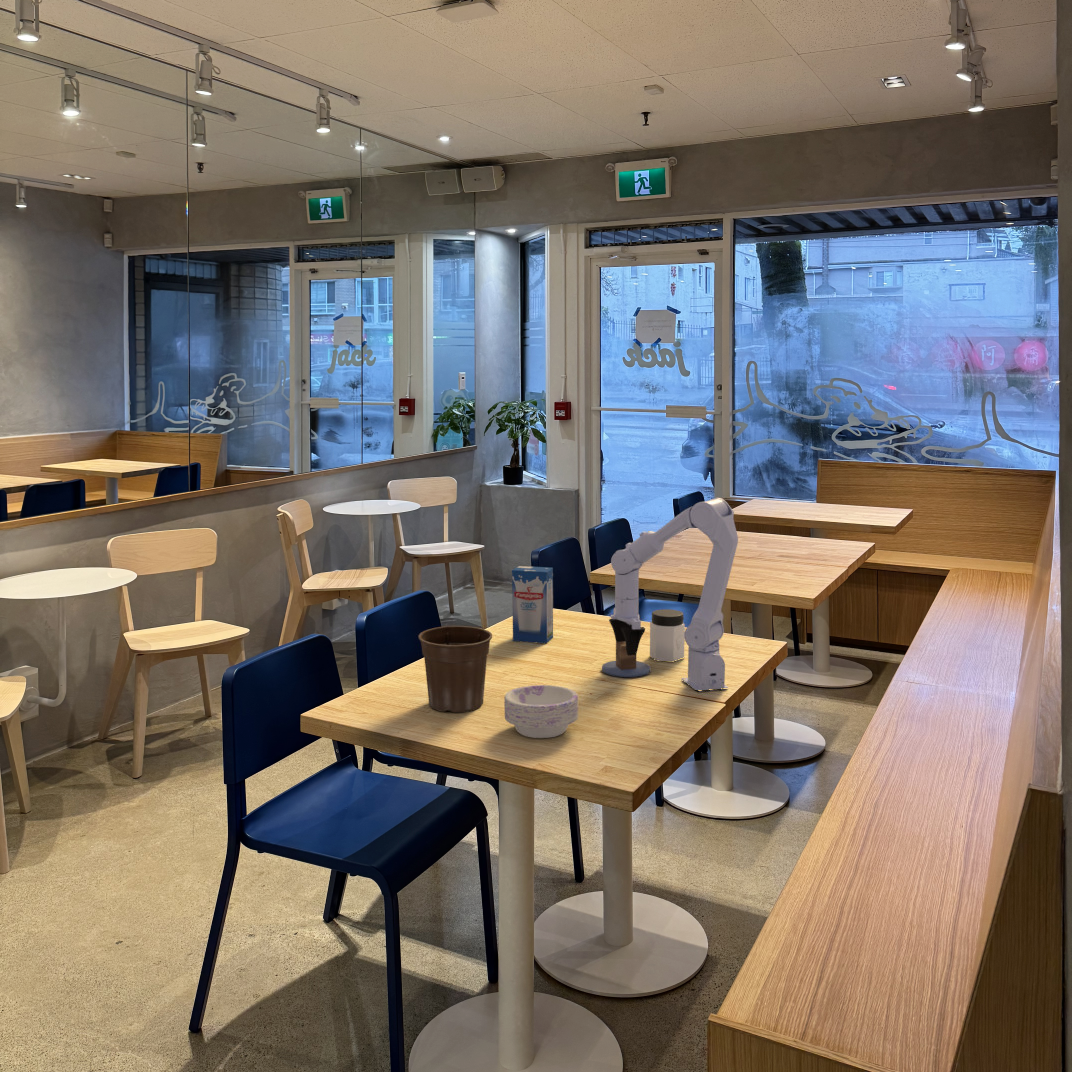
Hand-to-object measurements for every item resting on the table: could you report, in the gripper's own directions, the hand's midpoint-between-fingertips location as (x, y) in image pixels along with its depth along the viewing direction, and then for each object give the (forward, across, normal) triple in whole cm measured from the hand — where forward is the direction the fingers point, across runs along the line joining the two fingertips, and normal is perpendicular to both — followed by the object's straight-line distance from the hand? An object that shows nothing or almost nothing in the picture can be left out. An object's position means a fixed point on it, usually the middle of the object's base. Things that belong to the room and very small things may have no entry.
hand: (626, 650), depth 246 cm
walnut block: (+4, 0, 0) cm, 4 cm away
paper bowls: (+5, +35, -31) cm, 47 cm away
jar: (+5, -8, +14) cm, 17 cm away
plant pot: (+5, +14, -45) cm, 47 cm away
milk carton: (+5, -35, -15) cm, 39 cm away
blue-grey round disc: (+5, 0, 0) cm, 5 cm away
